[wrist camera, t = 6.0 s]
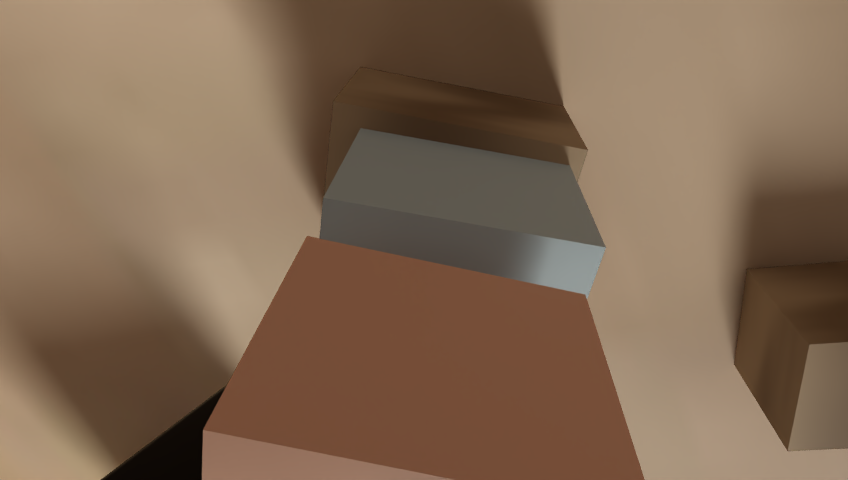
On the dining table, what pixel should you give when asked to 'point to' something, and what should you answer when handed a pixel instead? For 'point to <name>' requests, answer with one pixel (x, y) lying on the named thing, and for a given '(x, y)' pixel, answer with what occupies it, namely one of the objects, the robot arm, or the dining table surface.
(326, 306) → the terracotta cube
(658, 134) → the dining table surface
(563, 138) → the walnut base block
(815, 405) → the walnut block
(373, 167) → the slate middle block
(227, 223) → the dining table surface
